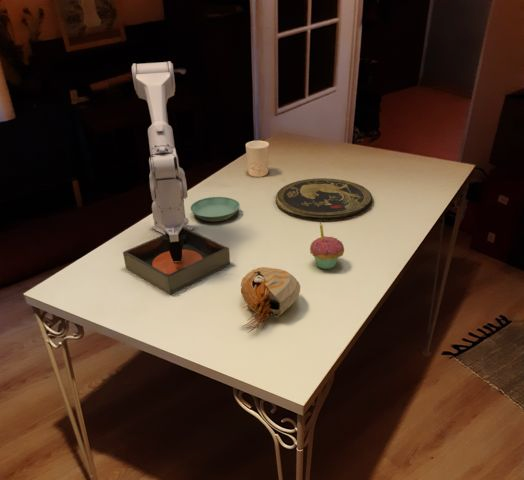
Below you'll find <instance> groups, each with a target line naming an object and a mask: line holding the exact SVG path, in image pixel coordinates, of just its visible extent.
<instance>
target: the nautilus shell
mask: <svg viewBox="0 0 524 480" xmlns="http://www.w3.org/2000/svg"><path fill="white" fill-rule="evenodd" d="M300 292H301V284H300V282H299V281H298V279H297V278H296V277H295V276H294V275H293V274H291V273H289V271H286V270H284V269H280V268H274V267H265V266H261V267H257V268H254V269H252V270H251V271H248V272H247V273H246V275H245V276H243V277H242V279H241V282H240V294H241V295H242V297H243V300H244V301H245V304H247V305H244V306H243V307H242V309H244V308H246V307H249V308H248V309H246V311H249V310H250V309H251V310H252V311H253V312H254V314H252V316H251V317H249V318H248V319H247V321H249V320H250V319H251V320H250V321H249V322H247V323H246V324H244V325H242V326H241V327H242V328H243V327H244V328H246V329H248V328H252V329H250V330H249V331H247V332H246V333H247V334H249V333H251V332H253V331H254V330H255V329H256V331H255V332H257V331H258V329H259V326H260V325H261V324H262V323H264V324H263V325H265V324H266V322H267V321H268V320H269V318H270V317H271V316H273V317H275V318H279V316H281V315H282V314H283V313H284V312H285V311H286V310H287V309H289V308H290V307H291V306H292V305H293V304H294V303H295V302H296V301H297V299H298V296H299V295H300ZM256 314H257V315H256ZM253 317H254V318H253ZM258 321H259V322H258ZM257 322H258V323H257ZM264 328H265V326H263V327H262V329H264Z"/></svg>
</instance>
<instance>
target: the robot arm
mask: <svg viewBox="0 0 524 480" xmlns="http://www.w3.org/2000/svg"><path fill="white" fill-rule="evenodd" d="M174 72H175V71H174V63H172V62H171V61H170V60H169V61H163V62H145V63H136V62H135V63H132V65H131V73H132V75H131V76H132V81H133V86H134V90H135V93H136V95H137V96H138V99H142V100H145V101H146V103H147V106H148V110H149V115H150V116H149V117H150V121H151V125H150V126H149V127H148V128H147V137H148V144H149V153H150V154H149V155H150V156H149V158H148V163H149V164H148V165H149V170H150V171H149V189H150V193H151V194H150V196H151V200H152V203H151V212H152V219H153V225H154V226H151V227H152V228H151V229H153V230H154V231H157V232H158V233H160V234H162V235H161V236H162V239H163V242H164V243H165V244H166V246H167V247H168V249H169V252H170V255H171V257H172V260H173V261H181V260H182V249H183V244H184V242H185V239H186V235H181V231H182V228H183V227H185V228H187V229H189V230H192V231H194V227H193V226H191V225H188V224H190V221H189V218H188V217H186V209H185V200H187V198H188V197H189V196H188V186H187V179H186V175H185V174H186V173H185V171H184V169H183V168H182V167H181V166H180V163H179V156H178V154H177V150H176V145H175V139H174V133H173V132H174V131H173V130H174V129H173V128H172V126H171V125H169V117H168V112H167V103H168V100H169V99H170V98H172V97H174V96H175V92H176V81H175V80H176V79H175V74H174ZM164 234H166V235H164Z"/></svg>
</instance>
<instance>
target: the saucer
mask: <svg viewBox="0 0 524 480" xmlns="http://www.w3.org/2000/svg"><path fill="white" fill-rule="evenodd" d="M240 207H241V205H240V202H239V201H237V200H236V199H234V198H231V197H226V196H211V197H205V198H200V199H199V200H196V201H195V202H193V203H192V204H191V205H190V208H189V209H190V211H191V213H192V214H193V215H194V216H195V217H196V218H198V219H200V220H201V221H204V222H214V223H215V222H222V221H225V220H226V221H227V220H228V219H231V218H232V217H233V216H235V214H236V213H237V212H238V210H239V209H240Z"/></svg>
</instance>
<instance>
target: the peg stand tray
mask: <svg viewBox="0 0 524 480" xmlns="http://www.w3.org/2000/svg"><path fill="white" fill-rule="evenodd" d="M163 235H166V234H163ZM181 235H186V239H185V242H184V244H183V249H182V250H191V251H195V252H197V253H199V254H200V255H201V256H202V258H203V259H201V260H199V261H197V262H195V263H193V264H191V265H188V266H186V267H184V268H182V269H180V270H178V271H176V272H174V273H172V274H170V275H167V274H165V273H163V272H162V271H160V270H158V269H156V268H154V267H153V266H152V262H153V260H154V259H155V258H156V257H157V256H158V255H160V254H162V253H165V252H168V251H169V249H168V247H167V246H166V244H165V243H164V242H163V239H162V235H159V236H158V237H157V236H156V237H155V238H153V239H150V240H149V241H146V242H145V241H144V242H143V243H141V244H139V245H136V246H133V247H131V248H129V249H126V250H125V251H122V255H123V259H124V261H123V262H124V267H125V269H126V270H127V271H128V272H129V271H130V272H131V273H133V274H134V275H137V277H139V278H141V279H143V280H145V281H146V282H148V283H150V284H151V285H153V286H154V287H157V289H160V290H162V291H163V292H165V293H167V294H168V295H172V294H174V293H176V292H179V291H181V290H183V289H185V288H187V287H188V286H191V285H192V284H195V283H196V282H199V281H201V280H202V279H204V278H207V277H209V276H210V275H213V274H214V273H216V272H218V271H220V270H223V269H225V268H226V267H228V266H230V265H231V257H230V256H231V255H230V248H229V247H227V246H226V245H224V244H221V243H219V242H217V241H214V240H213V239H211V238H209V237H207V236H204V235H203V234H200V233H198V232H196V231H194V230H189V229H187V228H185V227H183V228H182V231H181Z"/></svg>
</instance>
